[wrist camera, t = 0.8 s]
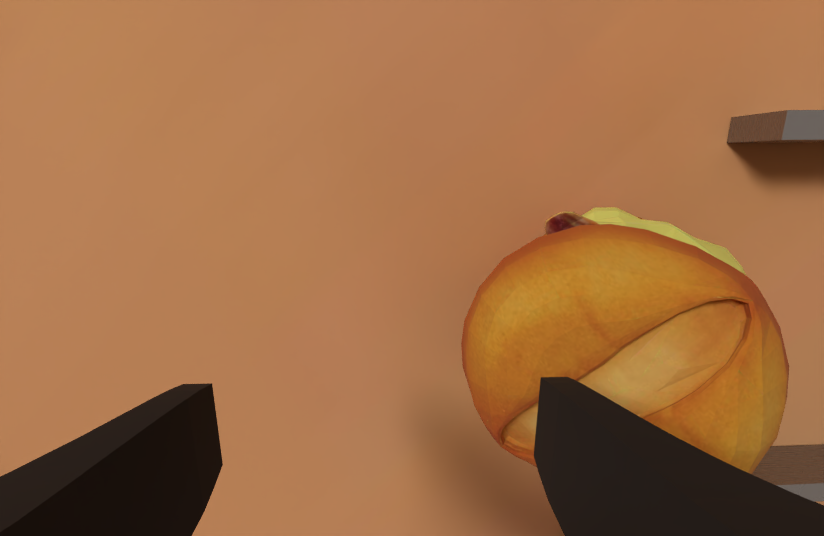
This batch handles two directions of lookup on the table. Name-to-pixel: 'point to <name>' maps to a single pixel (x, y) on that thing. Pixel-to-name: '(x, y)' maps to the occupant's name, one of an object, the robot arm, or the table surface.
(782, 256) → the table surface
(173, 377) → the table surface
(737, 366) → the cheeseburger
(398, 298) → the table surface
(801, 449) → the rack
